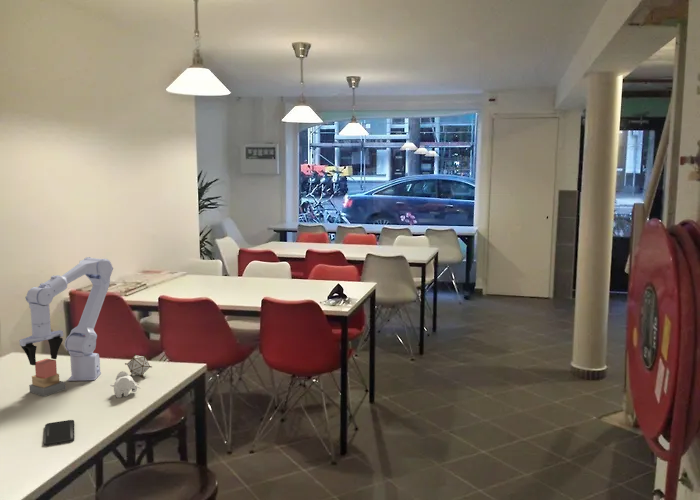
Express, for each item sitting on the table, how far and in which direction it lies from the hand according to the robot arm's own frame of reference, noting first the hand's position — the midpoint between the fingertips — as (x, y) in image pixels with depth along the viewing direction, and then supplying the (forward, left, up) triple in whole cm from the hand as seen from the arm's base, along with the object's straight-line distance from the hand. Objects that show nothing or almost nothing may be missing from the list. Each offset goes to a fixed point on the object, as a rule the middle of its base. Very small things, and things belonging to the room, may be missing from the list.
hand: (43, 361), depth 212 cm
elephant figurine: (-28, +6, -11) cm, 31 cm away
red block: (-1, 0, -5) cm, 5 cm away
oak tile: (0, -1, -8) cm, 8 cm away
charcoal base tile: (-1, -1, -11) cm, 11 cm away
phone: (-17, +36, -11) cm, 41 cm away
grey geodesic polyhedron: (-28, -13, -11) cm, 33 cm away
